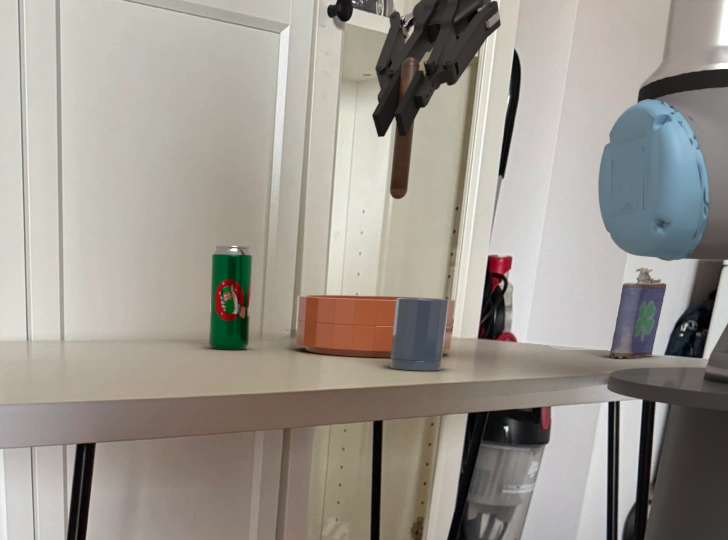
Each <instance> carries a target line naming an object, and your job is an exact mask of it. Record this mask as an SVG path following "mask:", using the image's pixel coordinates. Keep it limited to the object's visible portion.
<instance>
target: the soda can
mask: <svg viewBox="0 0 728 540" xmlns="http://www.w3.org/2000/svg"><path fill="white" fill-rule="evenodd" d="M250 249H251V248H250V246H245V245H215V246H214V251H213V252H212V254H211V269H210V270H211V271H210V301H209V302H210V304H209V306H210V307H209V338H208V339H209V340H208V344H209V346H210V347H211V348H212V349H215V350H223V351H224V350H225V351H240V350H242V351H243V350H245V349H246V348H247V347H248V346H249V343H250V342H249V341H250V340H249V339H250V319H251V318H250V317H251V296H252V295H251V294H252V272H253V255H252V253H251V250H250Z"/></svg>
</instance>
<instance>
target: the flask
mask: <svg viewBox="0 0 728 540" xmlns="http://www.w3.org/2000/svg"><path fill="white" fill-rule="evenodd" d="M653 271H654V270H653V269H652V268H651V269H649V268H647V267H645V268H644V267H640V268H637V269H636V270H635V273H637V272H639V275H638V276H637V277H636V280H637V282H625V283H623V284H622V287H621V293H620V297H619V298H620V300H619V303H618V304H619V305H618V310H617V316H616V320H615V325H614V331H613V336H612V341H611V347H610V350H609V358H613V359H614V358H619V359H623V358H627V359H632V358H640V357H641V358H643V357H646V358H647V357H652V356H653V351H654V345H655V340H656V336H657V331H658V327H659V323H660V318H661V314H662V313H661V312H662V310H663V309H662V307H663V304H664V298H665V295H666V291H667V283H665V282H662V279H661V278H658V279H655V278H653V277H651V275H650V273H651V272H653Z"/></svg>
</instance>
